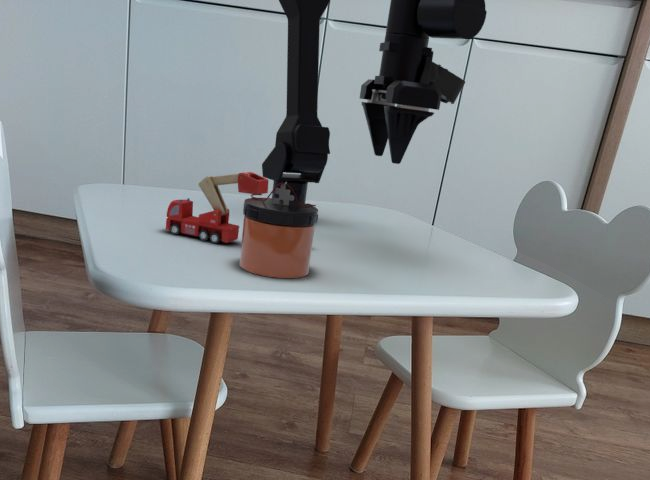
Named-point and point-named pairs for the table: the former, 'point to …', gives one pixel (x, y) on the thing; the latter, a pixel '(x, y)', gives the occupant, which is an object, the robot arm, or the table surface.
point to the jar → (276, 249)
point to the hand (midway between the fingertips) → (386, 159)
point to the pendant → (282, 195)
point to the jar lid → (280, 212)
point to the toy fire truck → (217, 220)
